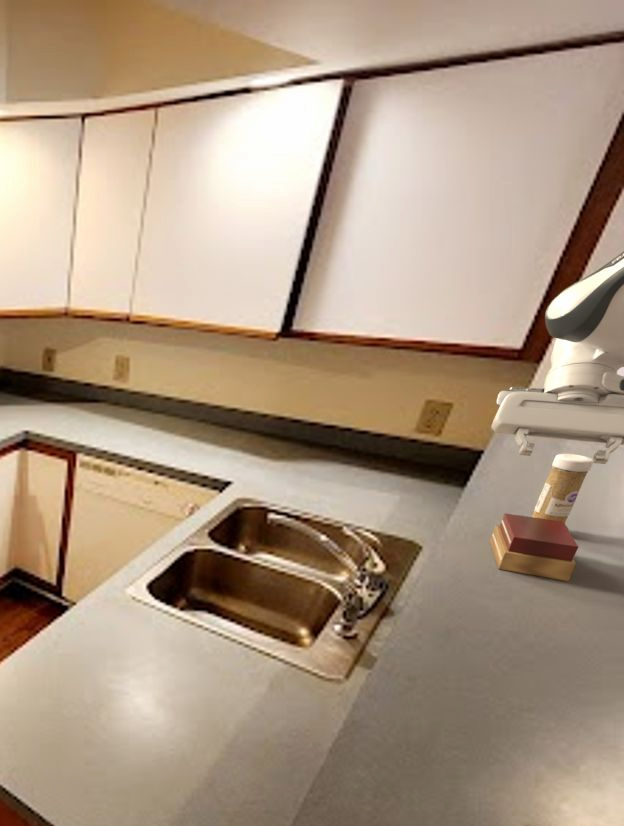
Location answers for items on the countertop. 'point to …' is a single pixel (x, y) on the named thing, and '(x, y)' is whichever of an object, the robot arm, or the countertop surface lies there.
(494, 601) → the countertop surface
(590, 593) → the countertop surface
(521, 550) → the red and wooden block
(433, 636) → the countertop surface
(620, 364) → the robot arm
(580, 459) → the sprinkles bottle
